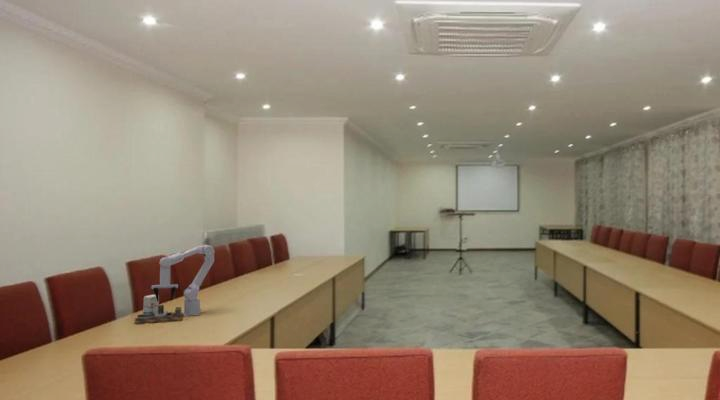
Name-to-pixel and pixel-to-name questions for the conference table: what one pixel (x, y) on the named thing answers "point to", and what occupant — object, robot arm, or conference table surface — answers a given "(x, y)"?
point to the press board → (160, 317)
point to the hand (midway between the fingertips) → (164, 300)
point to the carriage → (161, 311)
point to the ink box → (150, 304)
